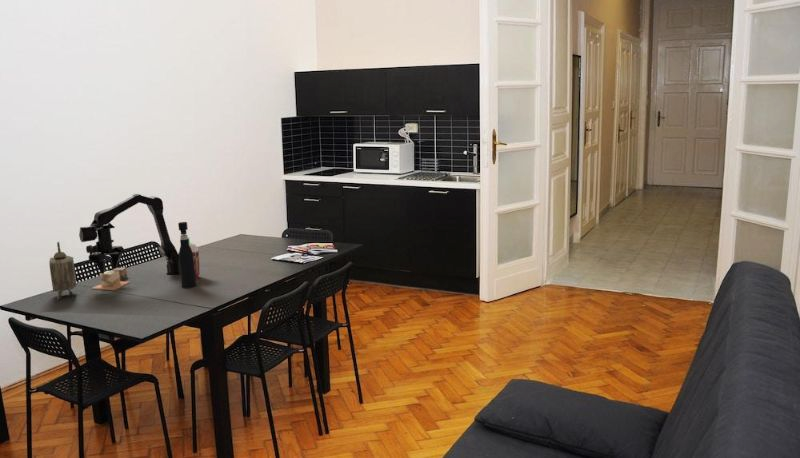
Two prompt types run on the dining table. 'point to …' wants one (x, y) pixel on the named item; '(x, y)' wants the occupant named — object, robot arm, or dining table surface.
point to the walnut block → (121, 272)
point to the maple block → (110, 278)
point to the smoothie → (195, 258)
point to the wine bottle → (186, 259)
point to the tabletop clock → (62, 272)
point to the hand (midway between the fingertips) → (108, 271)
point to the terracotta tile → (111, 287)
